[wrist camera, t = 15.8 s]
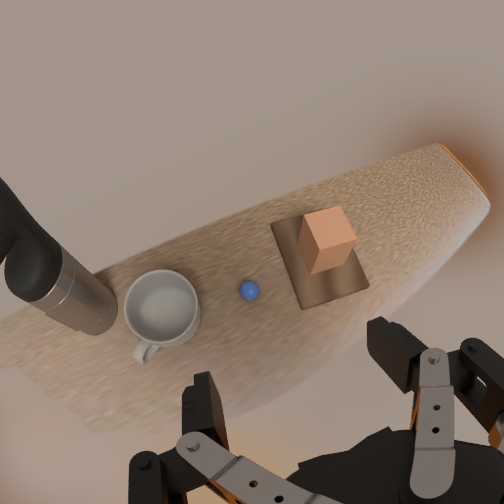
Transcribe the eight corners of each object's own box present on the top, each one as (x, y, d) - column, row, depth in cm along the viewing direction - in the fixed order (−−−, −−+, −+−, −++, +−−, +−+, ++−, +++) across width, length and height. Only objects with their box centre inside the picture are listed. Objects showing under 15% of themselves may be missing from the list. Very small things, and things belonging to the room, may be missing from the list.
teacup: (167, 277, 49) (152, 255, 42) (220, 309, 46) (212, 292, 39) (120, 343, 44) (97, 331, 37) (171, 382, 41) (154, 378, 34)
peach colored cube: (310, 274, 47) (319, 249, 40) (297, 243, 50) (303, 214, 42) (343, 264, 48) (357, 238, 40) (329, 234, 51) (340, 205, 43)
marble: (243, 305, 46) (242, 299, 44) (238, 288, 48) (237, 281, 45) (261, 300, 47) (261, 293, 44) (256, 283, 48) (256, 275, 45)
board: (301, 310, 46) (302, 308, 45) (271, 226, 53) (271, 223, 52) (367, 288, 47) (369, 285, 46) (331, 211, 54) (332, 207, 53)
